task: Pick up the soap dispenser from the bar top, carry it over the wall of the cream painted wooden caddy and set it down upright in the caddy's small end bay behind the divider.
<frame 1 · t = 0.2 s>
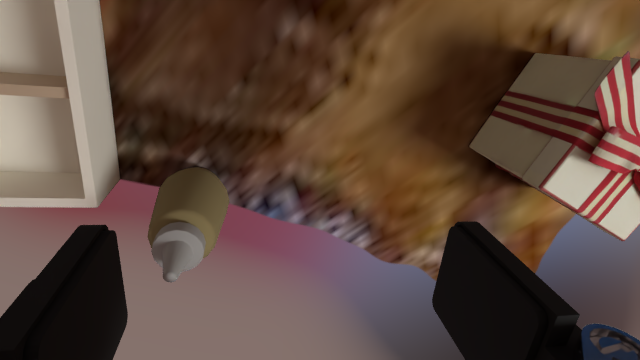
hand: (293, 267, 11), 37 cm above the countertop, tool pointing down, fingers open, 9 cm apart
caddy: (36, 73, 40), on the countertop
squeeze bottle: (198, 187, 48), on the countertop
gift box: (536, 113, 52), on the countertop
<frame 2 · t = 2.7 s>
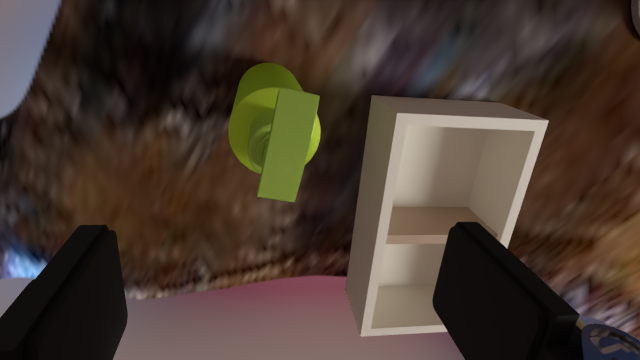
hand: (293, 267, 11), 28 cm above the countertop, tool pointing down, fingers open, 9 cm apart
caddy: (416, 203, 43), on the countertop
soap dispenser: (270, 88, 36), on the countertop
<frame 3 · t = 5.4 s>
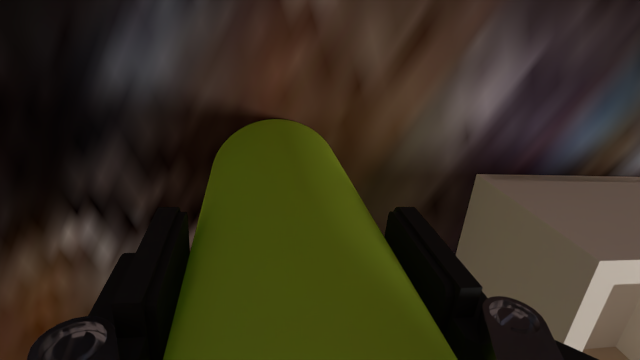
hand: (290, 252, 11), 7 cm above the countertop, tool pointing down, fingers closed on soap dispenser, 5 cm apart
caddy: (528, 343, 25), on the countertop
soap dispenser: (278, 169, 18), on the countertop, touching gripper
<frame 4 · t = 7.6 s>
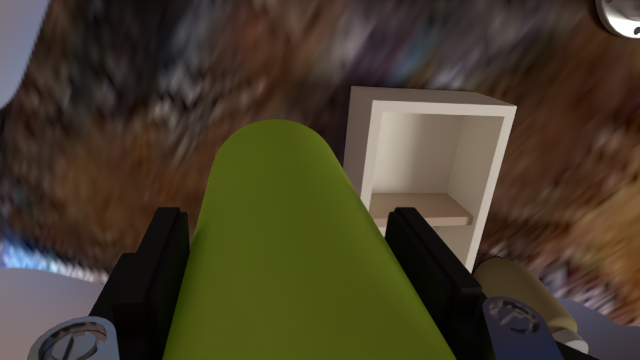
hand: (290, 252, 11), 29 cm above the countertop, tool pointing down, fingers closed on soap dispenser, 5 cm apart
caddy: (397, 190, 45), on the countertop
soap dispenser: (278, 169, 18), point 22 cm above the countertop, touching gripper
squeeze bottle: (490, 273, 53), on the countertop
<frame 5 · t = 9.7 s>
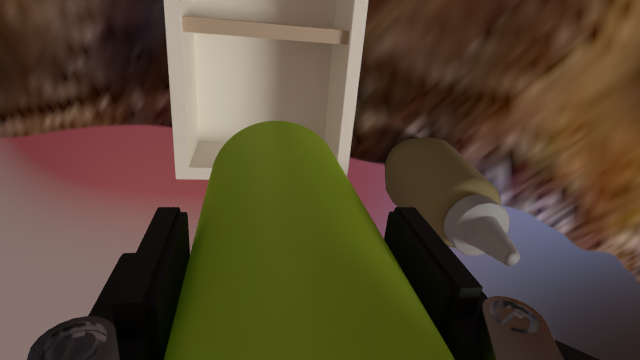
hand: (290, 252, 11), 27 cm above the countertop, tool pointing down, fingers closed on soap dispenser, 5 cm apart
caddy: (265, 22, 34), on the countertop
soap dispenser: (278, 170, 18), point 20 cm above the countertop, touching gripper
squeeze bottle: (409, 162, 42), on the countertop
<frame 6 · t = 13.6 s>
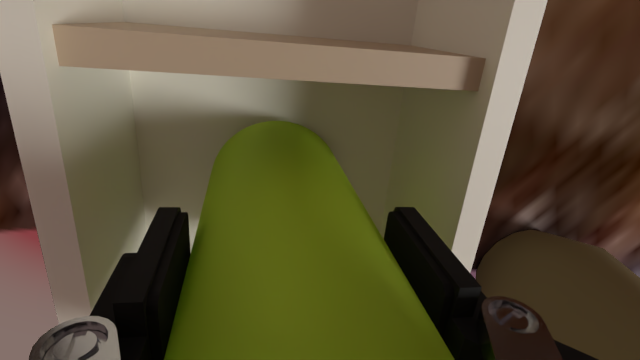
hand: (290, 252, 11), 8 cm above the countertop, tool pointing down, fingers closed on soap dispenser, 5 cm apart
caddy: (276, 33, 17), on the countertop
soap dispenser: (278, 170, 18), point 2 cm above the countertop, touching gripper
squeeze bottle: (513, 265, 25), on the countertop
when the fingers open (8 cm above the countertop, at t = 13.8 s): soap dispenser stays where it is, resting on caddy.
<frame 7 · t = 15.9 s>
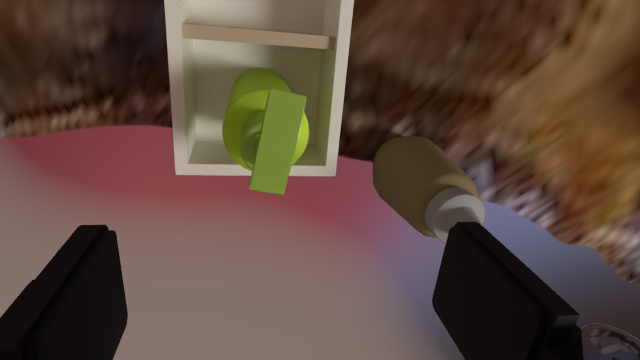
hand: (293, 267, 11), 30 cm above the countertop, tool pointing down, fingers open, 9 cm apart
caddy: (259, 28, 36), on the countertop
soap dispenser: (262, 92, 38), point 1 cm above the countertop, touching caddy
squeeze bottle: (396, 160, 44), on the countertop
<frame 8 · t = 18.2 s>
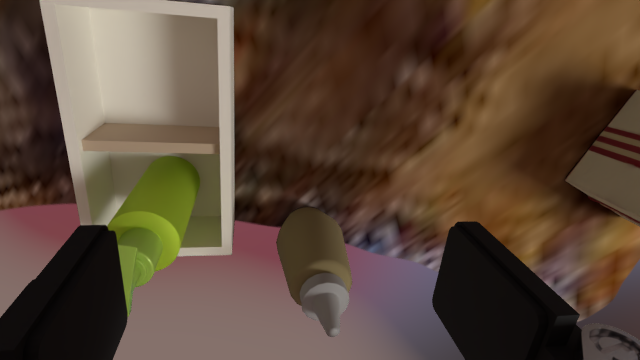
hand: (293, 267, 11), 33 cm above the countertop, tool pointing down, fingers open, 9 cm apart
caddy: (167, 123, 41), on the countertop
soap dispenser: (174, 175, 43), point 1 cm above the countertop, touching caddy
squeeze bottle: (305, 225, 49), on the countertop
gift box: (631, 146, 53), on the countertop
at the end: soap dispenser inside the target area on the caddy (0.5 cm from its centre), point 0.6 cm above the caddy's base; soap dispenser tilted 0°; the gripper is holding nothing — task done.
